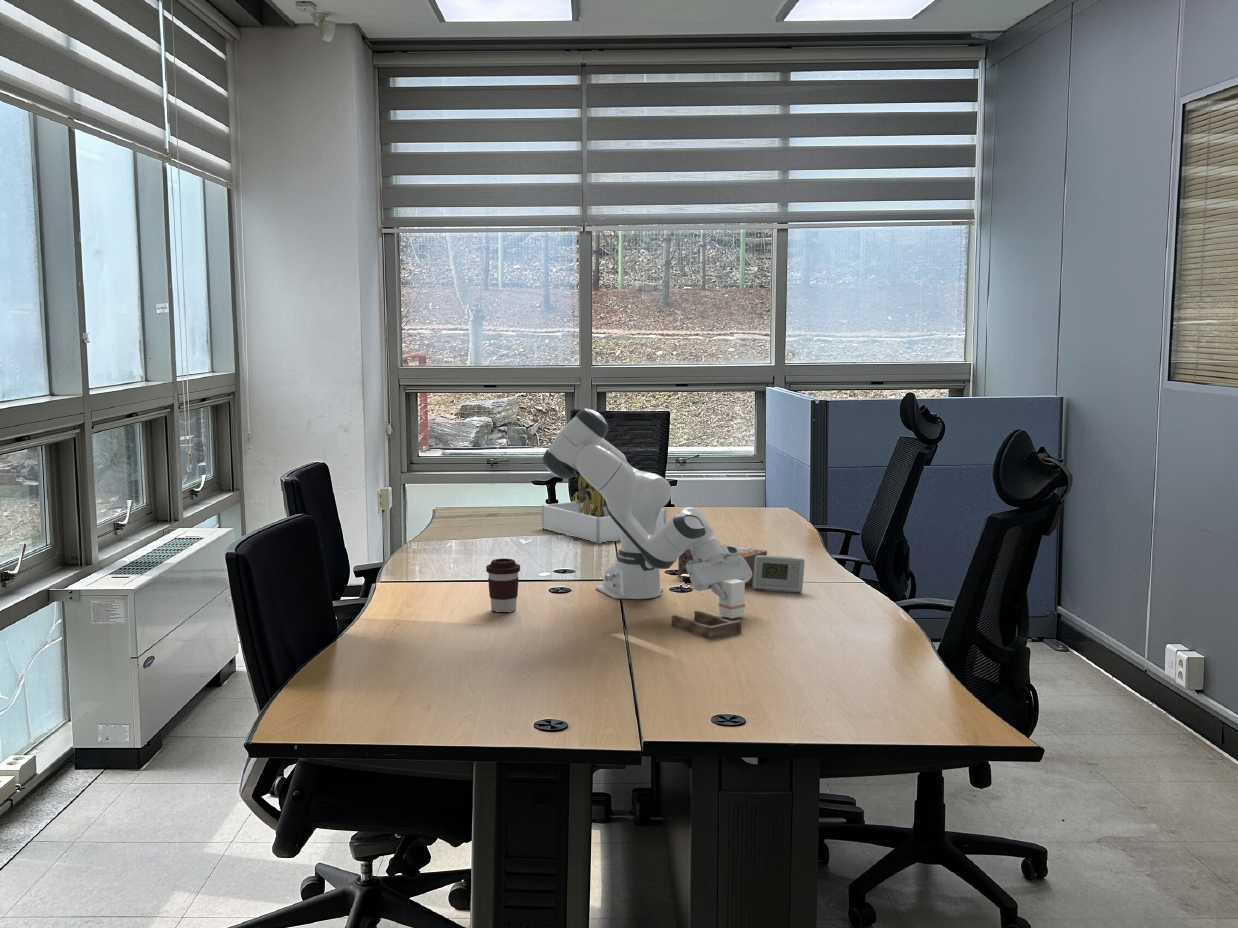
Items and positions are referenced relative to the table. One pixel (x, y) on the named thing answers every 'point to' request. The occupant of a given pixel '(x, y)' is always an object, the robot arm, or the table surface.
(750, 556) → the tissue box cover
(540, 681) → the table surface
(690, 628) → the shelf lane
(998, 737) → the table surface
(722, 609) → the block
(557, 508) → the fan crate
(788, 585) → the digital clock
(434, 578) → the table surface
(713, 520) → the table surface
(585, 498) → the yellow stringy mass
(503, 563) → the coffee cup
